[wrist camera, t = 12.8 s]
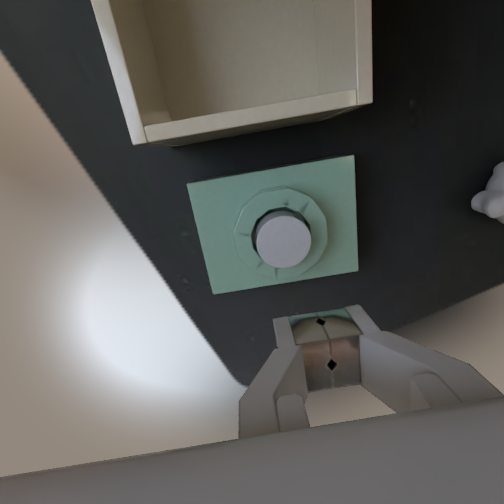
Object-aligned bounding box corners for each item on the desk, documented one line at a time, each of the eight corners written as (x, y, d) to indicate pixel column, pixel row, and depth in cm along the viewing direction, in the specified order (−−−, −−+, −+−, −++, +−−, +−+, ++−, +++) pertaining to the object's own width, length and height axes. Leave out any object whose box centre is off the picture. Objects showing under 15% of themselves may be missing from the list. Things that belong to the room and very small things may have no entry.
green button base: (339, 154, 22) (365, 155, 18) (344, 257, 25) (368, 280, 21) (193, 179, 23) (181, 186, 18) (216, 278, 26) (210, 306, 21)
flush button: (303, 206, 19) (308, 211, 17) (307, 254, 20) (313, 263, 19) (251, 215, 19) (252, 221, 17) (259, 262, 20) (260, 272, 19)
